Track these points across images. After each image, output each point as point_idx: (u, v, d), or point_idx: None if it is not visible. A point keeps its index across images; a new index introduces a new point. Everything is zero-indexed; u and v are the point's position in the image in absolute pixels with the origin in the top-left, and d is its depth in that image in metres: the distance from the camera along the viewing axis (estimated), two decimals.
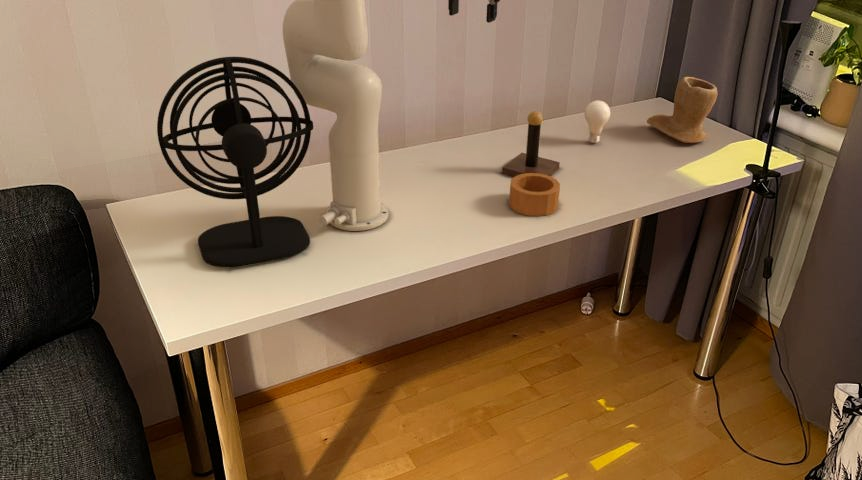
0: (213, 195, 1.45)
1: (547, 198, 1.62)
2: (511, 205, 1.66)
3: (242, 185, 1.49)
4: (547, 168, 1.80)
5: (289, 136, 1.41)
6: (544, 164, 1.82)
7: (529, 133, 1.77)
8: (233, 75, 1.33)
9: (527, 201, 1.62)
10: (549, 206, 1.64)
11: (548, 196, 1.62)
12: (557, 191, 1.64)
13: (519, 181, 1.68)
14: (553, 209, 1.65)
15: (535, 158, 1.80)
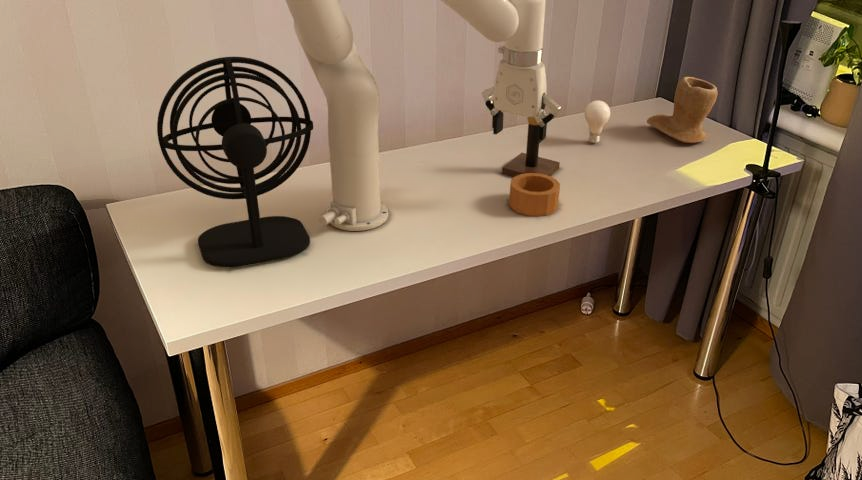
0: (213, 195, 1.45)
1: (547, 198, 1.62)
2: (511, 205, 1.66)
3: (242, 185, 1.49)
4: (547, 168, 1.80)
5: (289, 136, 1.41)
6: (544, 164, 1.82)
7: (529, 133, 1.77)
8: (233, 75, 1.33)
9: (527, 201, 1.62)
10: (549, 206, 1.64)
11: (548, 196, 1.62)
12: (557, 191, 1.64)
13: (519, 181, 1.68)
14: (553, 209, 1.65)
15: (535, 158, 1.80)
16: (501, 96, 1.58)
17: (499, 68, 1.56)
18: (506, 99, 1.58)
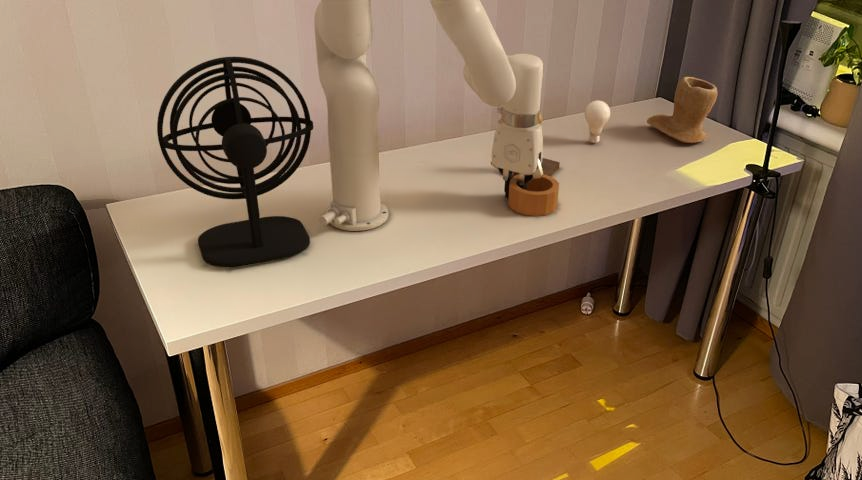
0: (213, 195, 1.45)
1: (546, 198, 1.62)
2: (510, 205, 1.66)
3: (242, 185, 1.49)
4: (547, 168, 1.80)
5: (289, 136, 1.41)
6: (544, 164, 1.82)
7: None
8: (233, 75, 1.33)
9: (526, 201, 1.62)
10: (548, 206, 1.64)
11: (547, 196, 1.62)
12: (556, 191, 1.64)
13: (518, 181, 1.68)
14: (552, 209, 1.65)
15: None
16: (499, 154, 1.63)
17: (497, 128, 1.61)
18: (503, 157, 1.63)
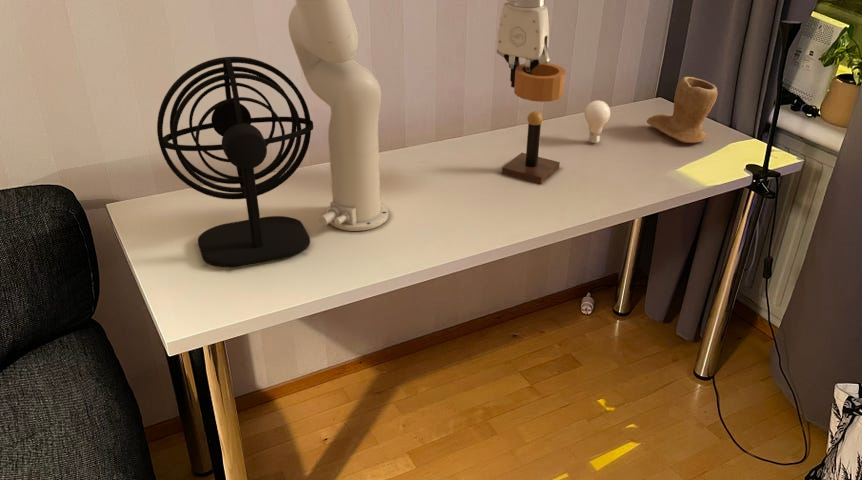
0: (213, 195, 1.45)
1: (552, 83, 1.61)
2: (516, 92, 1.65)
3: (242, 185, 1.49)
4: (547, 168, 1.80)
5: (289, 136, 1.41)
6: (544, 164, 1.82)
7: (529, 133, 1.77)
8: (233, 75, 1.33)
9: (532, 85, 1.61)
10: (554, 91, 1.62)
11: (553, 80, 1.60)
12: (562, 76, 1.62)
13: None
14: (558, 95, 1.63)
15: (535, 158, 1.80)
16: (504, 39, 1.62)
17: (503, 10, 1.60)
18: (509, 42, 1.62)
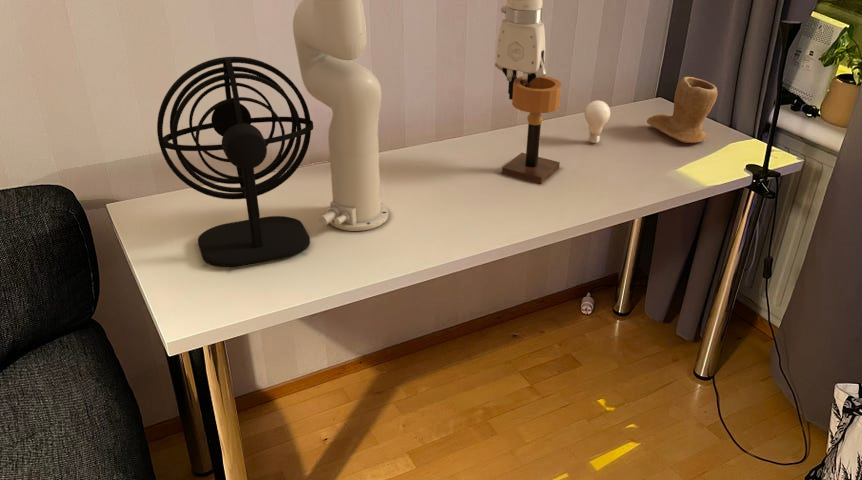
0: (213, 195, 1.45)
1: (549, 95, 1.68)
2: (514, 104, 1.72)
3: (242, 185, 1.49)
4: (547, 168, 1.80)
5: (289, 136, 1.41)
6: (544, 164, 1.82)
7: (529, 133, 1.77)
8: (233, 75, 1.33)
9: (529, 98, 1.68)
10: (551, 103, 1.70)
11: (549, 93, 1.68)
12: (558, 89, 1.70)
13: None
14: (554, 107, 1.71)
15: (535, 158, 1.80)
16: (503, 53, 1.69)
17: (501, 26, 1.67)
18: (507, 56, 1.69)
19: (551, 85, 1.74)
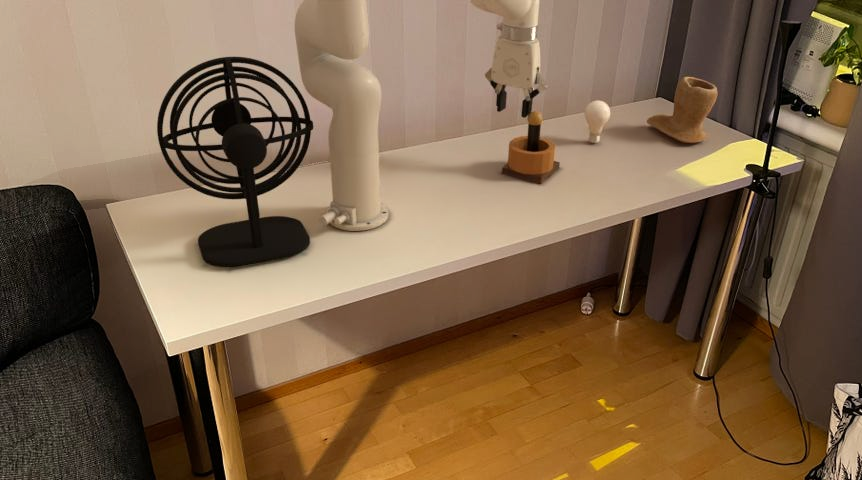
0: (213, 195, 1.45)
1: (542, 158, 1.76)
2: (509, 164, 1.80)
3: (242, 185, 1.49)
4: None
5: (289, 136, 1.41)
6: None
7: (529, 133, 1.77)
8: (233, 75, 1.33)
9: (524, 160, 1.76)
10: (544, 165, 1.77)
11: (543, 156, 1.75)
12: (552, 151, 1.77)
13: (517, 143, 1.81)
14: (548, 168, 1.78)
15: None
16: (498, 69, 1.71)
17: (497, 43, 1.69)
18: (503, 72, 1.71)
19: (545, 146, 1.81)
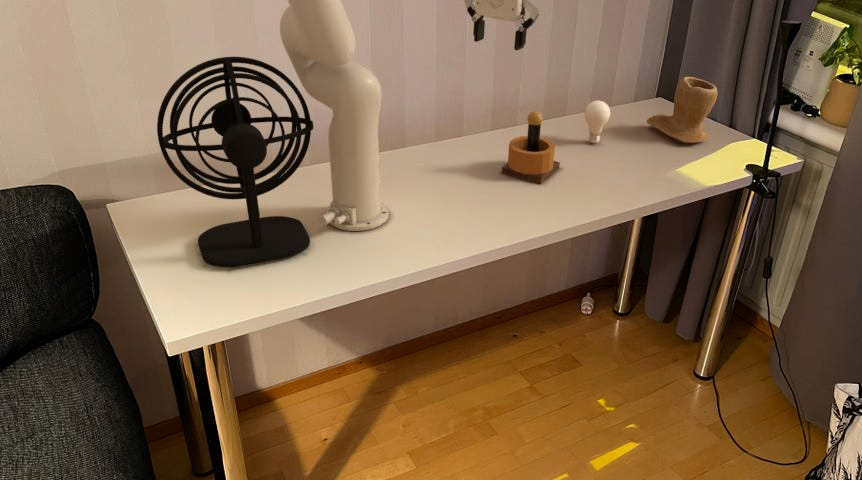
0: (213, 195, 1.45)
1: (542, 158, 1.76)
2: (509, 164, 1.80)
3: (242, 185, 1.49)
4: None
5: (289, 136, 1.41)
6: None
7: (529, 133, 1.77)
8: (233, 75, 1.33)
9: (524, 160, 1.76)
10: (544, 165, 1.77)
11: (543, 156, 1.75)
12: (552, 151, 1.77)
13: (517, 143, 1.81)
14: (548, 168, 1.78)
15: None
16: (482, 0, 1.61)
17: None
18: (487, 3, 1.60)
19: (545, 146, 1.81)
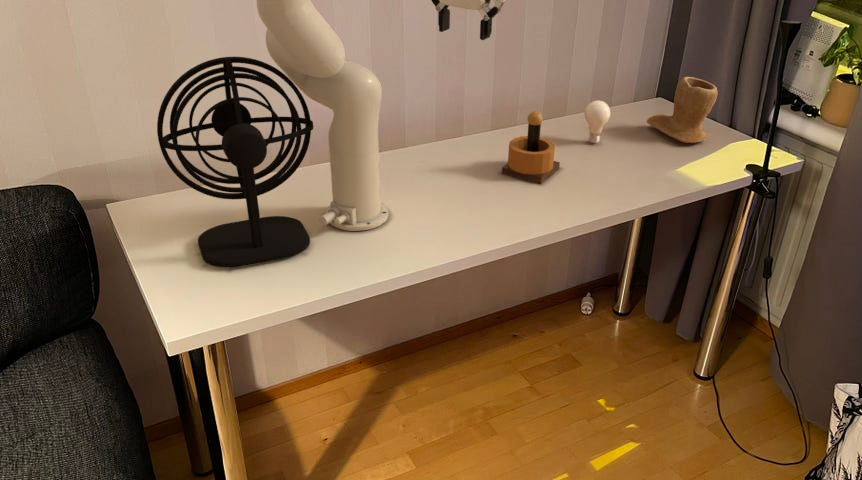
0: (213, 195, 1.45)
1: (542, 158, 1.76)
2: (509, 164, 1.80)
3: (242, 185, 1.49)
4: None
5: (289, 136, 1.41)
6: None
7: (529, 133, 1.77)
8: (233, 75, 1.33)
9: (524, 160, 1.76)
10: (544, 165, 1.77)
11: (543, 156, 1.75)
12: (552, 151, 1.77)
13: (517, 143, 1.81)
14: (548, 168, 1.78)
15: None
16: None
17: None
18: None
19: (545, 146, 1.81)
